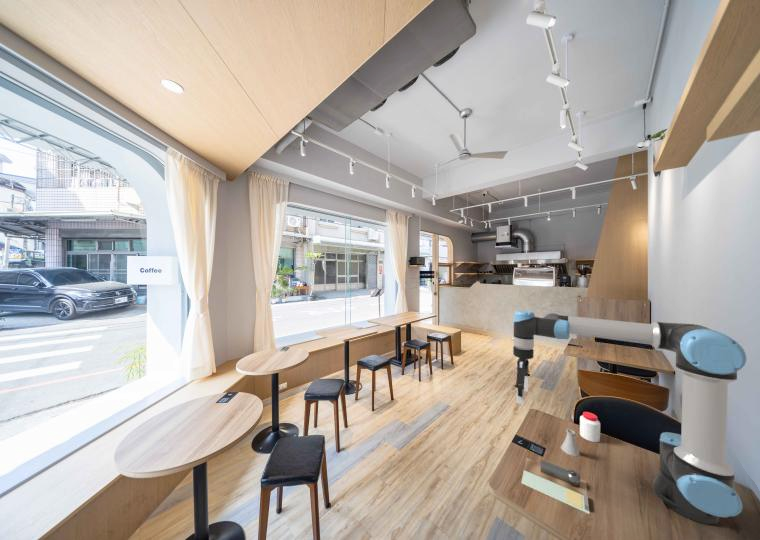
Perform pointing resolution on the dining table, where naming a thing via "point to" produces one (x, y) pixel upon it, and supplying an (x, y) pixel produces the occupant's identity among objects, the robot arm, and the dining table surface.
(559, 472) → the latch bar
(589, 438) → the pill bottle
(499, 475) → the dining table surface
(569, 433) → the flask
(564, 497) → the door panel
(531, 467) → the board
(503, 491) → the dining table surface
